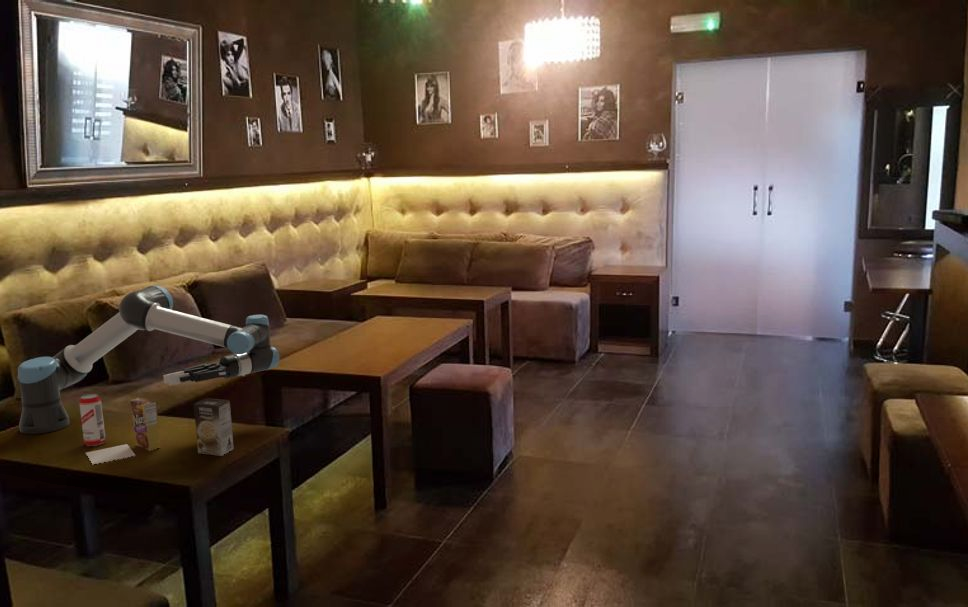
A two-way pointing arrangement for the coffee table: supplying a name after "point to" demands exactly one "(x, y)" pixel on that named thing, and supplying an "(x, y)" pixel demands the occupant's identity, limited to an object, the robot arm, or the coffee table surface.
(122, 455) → the mat
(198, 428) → the coffee box
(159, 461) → the coffee table surface
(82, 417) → the beer can
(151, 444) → the candy box
